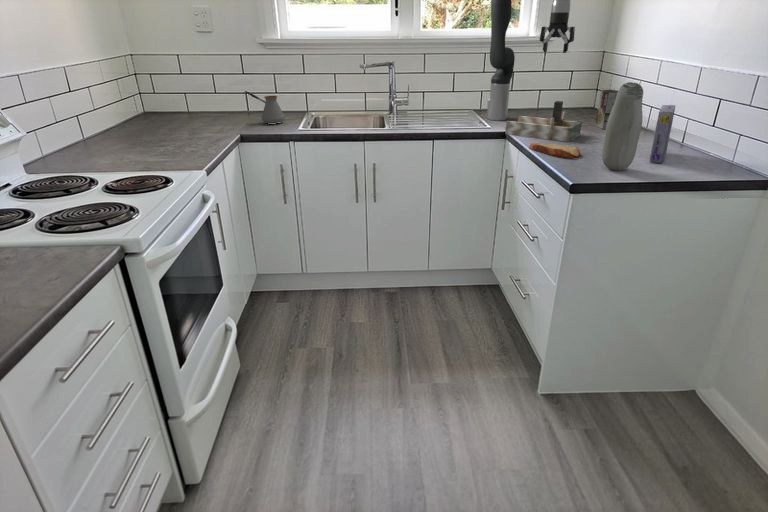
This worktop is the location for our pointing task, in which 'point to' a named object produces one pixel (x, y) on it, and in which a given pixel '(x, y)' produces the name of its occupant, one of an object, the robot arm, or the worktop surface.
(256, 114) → the worktop surface
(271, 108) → the coffee pot
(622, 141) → the grey bottle
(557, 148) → the bread slice
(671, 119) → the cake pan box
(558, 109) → the block
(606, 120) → the coffee box
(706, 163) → the worktop surface
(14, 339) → the worktop surface
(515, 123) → the beige and green tray
